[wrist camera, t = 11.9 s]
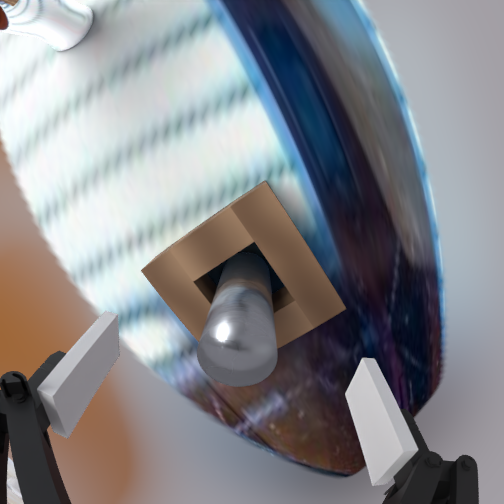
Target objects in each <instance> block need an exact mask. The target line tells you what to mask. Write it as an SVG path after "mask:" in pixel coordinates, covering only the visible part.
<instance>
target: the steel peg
mask: <svg viewBox="0 0 504 504" xmlns="http://www.w3.org/2000/svg"><path fill="white" fill-rule="evenodd" d="M197 357H198V361H199V364H200V366H201V367H202V369H203V370H204V371H205V373H206V374H207V375H209V376H210V377H211V378H212V379H214V380H216V381H218V382H220V383H222V384H225V385H230V386H249V385H253V384H256V383H258V382H260V381H262V380H264V379H265V378H267V377H268V376H269V375H270V374H271V373H272V371H273V370H274V368H275V366H276V363H277V344H276V333H275V323H274V312H273V302H272V292H271V281H270V272H269V268H268V265H267V264H266V262H265V261H264V260H263V259H262V258H261V257H260V256H258V255H256V254H253V253H248V252H244V253H239V254H236V255H234V256H232V257H231V258H230V259H229V260H228V261H227V262H226V264H225V266H224V268H223V271H222V274H221V277H220V280H219V283H218V286H217V289H216V292H215V295H214V298H213V301H212V304H211V307H210V310H209V313H208V316H207V319H206V323H205V326H204V329H203V332H202V335H201V338H200V341H199V344H198V348H197Z"/></svg>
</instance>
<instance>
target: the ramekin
mask: <svg viewBox="0 0 504 504" xmlns="http://www.w3.org/2000/svg"><path fill="white" fill-rule="evenodd" d="M7 487H8V488H9V489H10V490H11V491H12V492H13V493H15V494H16V495H17V496H19V497H20V498H21V499H22V495H21V492H20V488H19V484H18V480H17V478H15V477H11V478H10V479H9V480H8V481H7Z"/></svg>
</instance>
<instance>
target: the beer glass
mask: <svg viewBox="0 0 504 504" xmlns="http://www.w3.org/2000/svg"><path fill="white" fill-rule="evenodd" d="M92 22H93V12H92V10H91V9H90V8H89V7H87V6H85V5H83V4H80V3H77V2H75V1H74V0H0V31H1V32H5V33H10V34H17V35H24V36H31V37H36V38H39V39H41V40H43V41H45V42H46V43H47V44H48V45H49V46H50V47H52V48H53V49H54V50H57V51H64V50H68V49H70V48H72V47H73V46H75V45H76V44H77V43H79V42H80V41H81V40H82V39H83V38H84V36H85V35H86V34H87V32H88V31H89V29H90V27H91V25H92Z"/></svg>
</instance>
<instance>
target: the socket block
mask: <svg viewBox="0 0 504 504" xmlns="http://www.w3.org/2000/svg"><path fill="white" fill-rule="evenodd" d="M253 242H255V243H256V245H257V246H258V248H259V249H260V250H261V252H262V253H263V255H264V256H265V258H266V259H267V260H268V262H269V263H270V265H271V266H272V268H273V269H274V271H275V272H276V274H277V275H278V276H279V278H280V279H281V281H282V282H283V284H284V285H285V286H284V287H283V288H281V289H279V290H278V291H276V292H274V293H273V294H272V302H273V312H274V323H275V333H276V344H277V349H278V348H280V347H282V346H284V345H285V344H287V343H289V342H291V341H293V340H294V339H296V338H298V337H300V336H301V335H303V334H305V333H307V332H308V331H310V330H312V329H314V328H315V327H317V326H319V325H320V324H322V323H324V322H325V321H327V320H329V319H330V318H332V317H334V316H335V315H337V314H339V313H340V312H342V311H343V310H345V309H346V307H345V306H344V304H343V302H342V301H341V299H340V297H339V295H338V294H337V292H336V290H335V289H334V287H333V285H332V284H331V282H330V280H329V279H328V277H327V276H326V274H325V272H324V271H323V269H322V267H321V266H320V264H319V263H318V261H317V259H316V258H315V256H314V255H313V253H312V251H311V250H310V248H309V247H308V245H307V243H306V242H305V240H304V239H303V237H302V236H301V234H300V233H299V231H298V229H297V228H296V226H295V225H294V223H293V222H292V220H291V219H290V217H289V216H288V214H287V212H286V211H285V209H284V208H283V206H282V205H281V203H280V202H279V200H278V199H277V197H276V196H275V194H274V193H273V191H272V190H271V188H270V187H269V185H268V184H267V182H266V181H263V182H262V183H260V184H259V185H257V186H256V187H254V188H253V189H251V190H250V191H248V192H247V193H245V194H244V195H242V196H241V197H239V198H238V199H236V200H235V201H233V202H232V203H230V204H229V205H227V206H226V207H225V208H223V209H222V210H220V211H219V212H217V213H216V214H214V215H213V216H212V217H210V218H209V219H207V220H206V221H204V222H203V223H202V224H200V225H199V226H197V227H196V228H195V229H193V230H192V231H190V232H189V233H188V234H186V235H185V236H183V237H182V238H181V239H179V240H178V241H176V242H175V243H174V244H172V245H171V246H170V247H168V248H167V249H166V250H164V251H163V252H161V253H160V254H159V255H157V256H156V257H155V258H154V259H153V260H152V261H151V262H150V263H148V264H147V265H146V266H145V267H144V268H143V269H142V270H141V271H142V273H143V274H144V275H145V277H146V278H147V279H148V280H149V282H150V283H151V284H152V286H153V287H154V288H155V290H156V291H157V292H158V293H159V295H160V296H161V297H162V298H163V300H164V301H165V302H166V303H167V305H168V306H169V307H170V308H171V310H172V311H173V312H174V313H175V315H176V316H177V317H178V318H179V319H180V321H181V322H182V323H183V324H184V325H185V327H186V328H187V329H188V330H189V331H190V332H191V334H192V335H193V336H194V337H195V338H196V339H197V341H198V342H199V341H200V338H201V335H202V332H203V329H204V326H205V323H206V319H207V316H208V313H209V310H210V307H211V304H212V301H213V298H214V295H215V292H216V289H217V286H216V284H215V283H214V282H213V280H212V279H211V278H210V276H209V275H208V274H207V272H209V271H210V270H212V269H213V268H215V267H216V266H218V265H219V264H221V263H222V262H224V261H225V260H227V259H228V258H230V257H231V256H233V255H235V254H236V253H238V252H239V251H241V250H242V249H244V248H245V247H247V246H248V245H250V244H251V243H253Z"/></svg>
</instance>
